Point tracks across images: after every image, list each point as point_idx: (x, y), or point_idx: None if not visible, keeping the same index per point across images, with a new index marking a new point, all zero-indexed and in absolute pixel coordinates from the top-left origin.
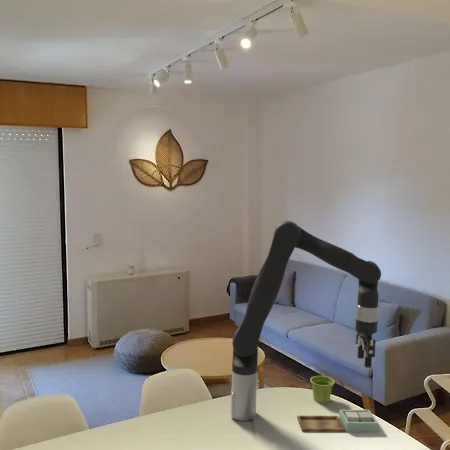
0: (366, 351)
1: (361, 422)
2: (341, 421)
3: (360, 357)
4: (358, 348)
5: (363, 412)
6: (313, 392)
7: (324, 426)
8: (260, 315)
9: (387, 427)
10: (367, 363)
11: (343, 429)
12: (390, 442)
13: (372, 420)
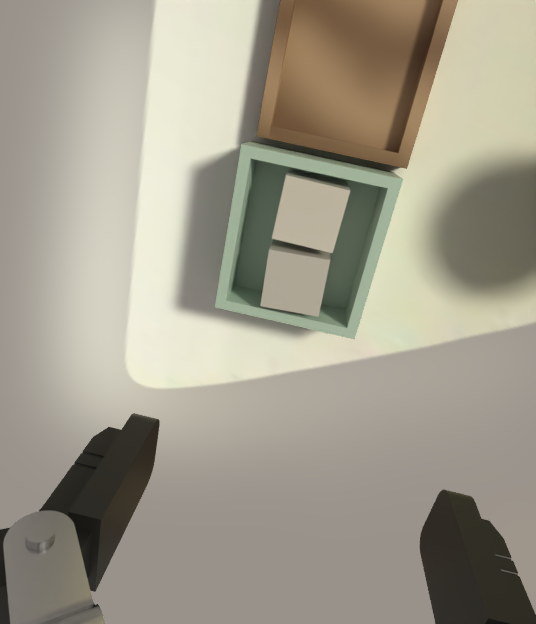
0: (11, 618)
1: (233, 227)
2: (350, 164)
3: (434, 518)
4: (493, 621)
5: (317, 289)
6: None
7: (333, 39)
8: None
9: (271, 358)
10: (80, 458)
11: (258, 128)
12: (153, 301)
13: None
